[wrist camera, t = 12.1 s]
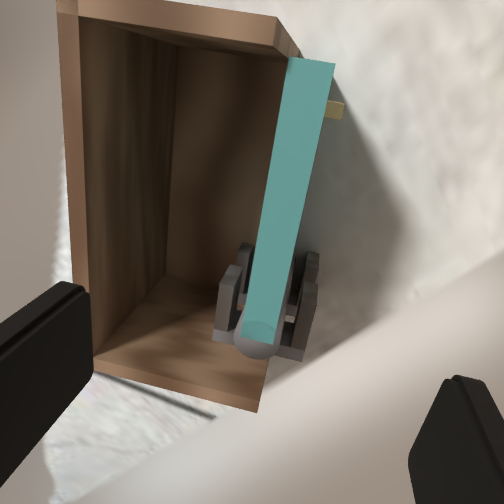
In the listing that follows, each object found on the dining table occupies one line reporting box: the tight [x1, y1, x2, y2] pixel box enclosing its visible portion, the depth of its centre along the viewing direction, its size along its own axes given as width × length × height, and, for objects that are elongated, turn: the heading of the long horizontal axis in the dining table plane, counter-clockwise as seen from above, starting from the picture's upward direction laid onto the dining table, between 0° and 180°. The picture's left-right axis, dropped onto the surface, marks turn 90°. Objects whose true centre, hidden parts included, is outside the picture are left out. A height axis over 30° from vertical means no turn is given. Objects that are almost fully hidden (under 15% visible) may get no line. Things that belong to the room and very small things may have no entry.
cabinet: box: [56, 0, 319, 413], centre depth 25 cm, size 14×21×13 cm
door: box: [233, 56, 345, 360], centre depth 25 cm, size 3×16×12 cm, turn 171°
